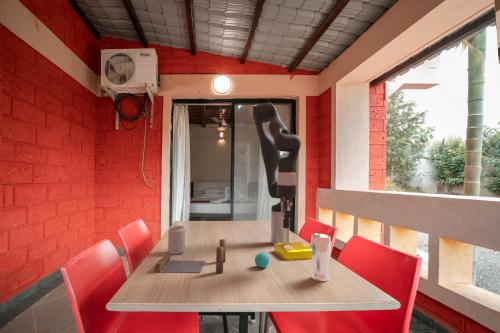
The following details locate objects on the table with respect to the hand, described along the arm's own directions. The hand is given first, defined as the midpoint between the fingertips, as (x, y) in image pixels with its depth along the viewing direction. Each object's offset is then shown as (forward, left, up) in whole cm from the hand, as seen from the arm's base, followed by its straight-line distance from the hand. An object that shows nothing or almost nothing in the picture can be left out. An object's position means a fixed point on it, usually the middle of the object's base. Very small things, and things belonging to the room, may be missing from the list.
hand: (286, 228), depth 107 cm
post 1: (+25, -6, -15) cm, 30 cm away
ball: (+9, 0, -13) cm, 16 cm away
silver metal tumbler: (-11, +11, -16) cm, 22 cm away
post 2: (+25, +6, -15) cm, 30 cm away
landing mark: (+39, 0, -15) cm, 42 cm away
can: (+47, -19, -16) cm, 53 cm away
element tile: (-7, -19, -16) cm, 25 cm away
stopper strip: (+48, 0, -15) cm, 50 cm away
